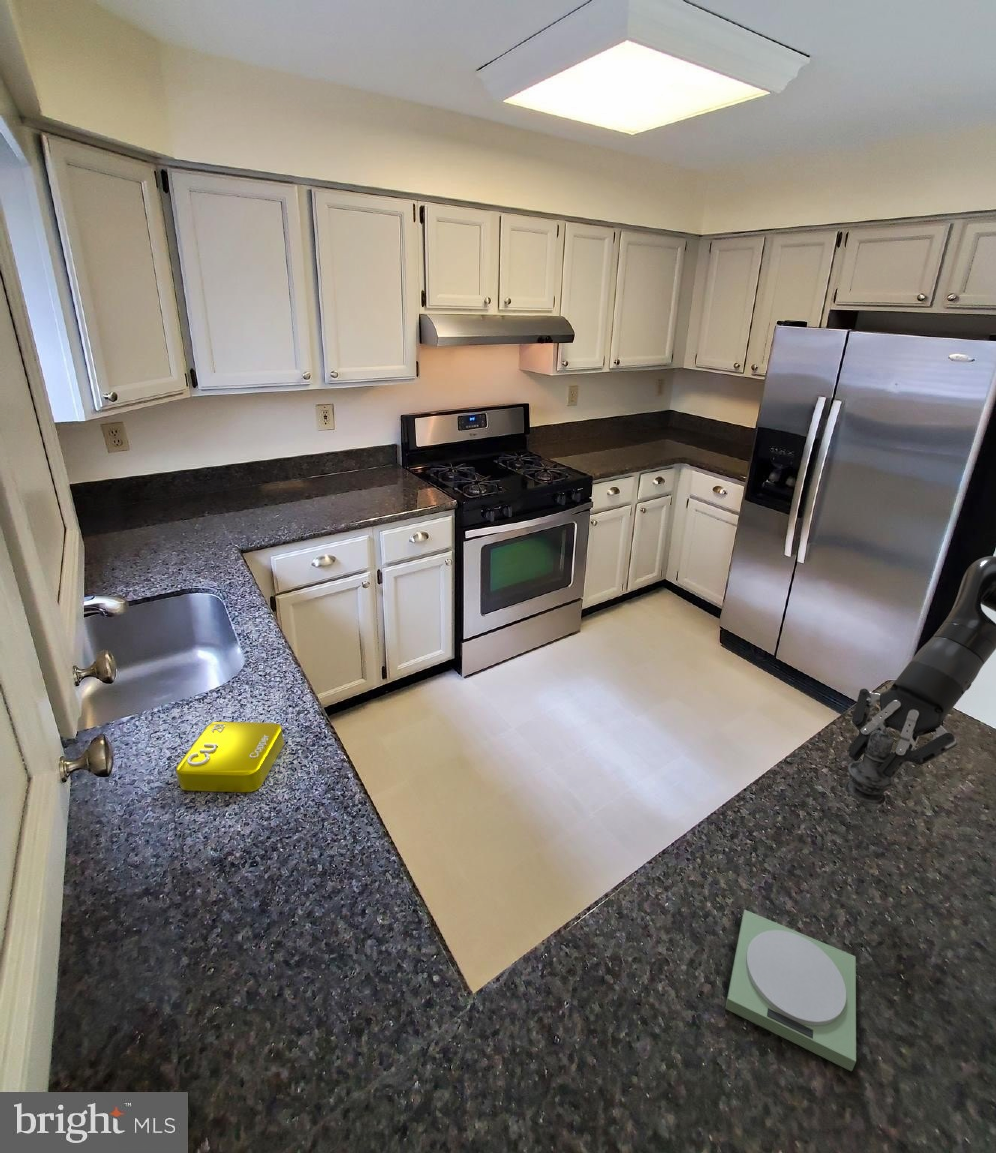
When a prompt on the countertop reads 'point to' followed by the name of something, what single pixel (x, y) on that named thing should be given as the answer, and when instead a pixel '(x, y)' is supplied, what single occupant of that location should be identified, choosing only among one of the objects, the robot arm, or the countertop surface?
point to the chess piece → (871, 771)
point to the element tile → (231, 757)
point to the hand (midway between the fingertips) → (866, 766)
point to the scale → (795, 988)
